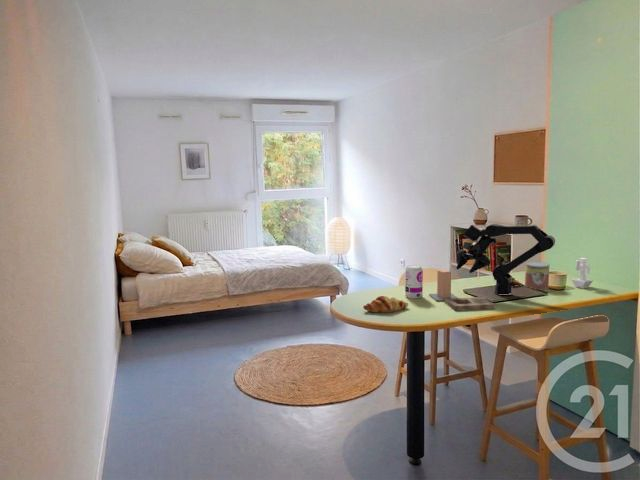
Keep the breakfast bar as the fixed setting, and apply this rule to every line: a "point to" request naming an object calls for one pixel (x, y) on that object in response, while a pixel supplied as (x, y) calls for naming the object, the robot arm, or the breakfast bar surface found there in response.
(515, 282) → the sunglasses case
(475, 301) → the puzzle board
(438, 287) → the terracotta block
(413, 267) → the supplement can
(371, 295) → the breakfast bar surface
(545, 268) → the canned food
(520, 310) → the breakfast bar surface
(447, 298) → the slate pad
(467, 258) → the robot arm
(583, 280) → the figurine
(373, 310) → the croissant
